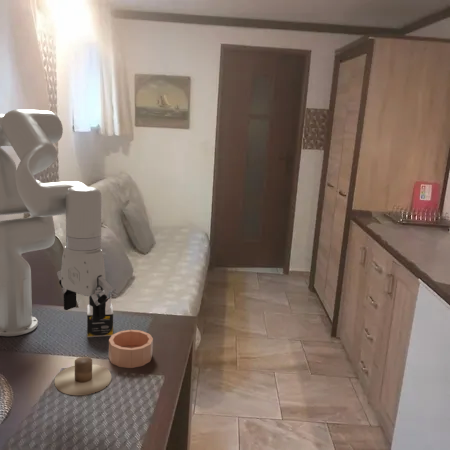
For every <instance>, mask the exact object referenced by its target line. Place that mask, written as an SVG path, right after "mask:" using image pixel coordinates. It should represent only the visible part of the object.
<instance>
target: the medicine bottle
mask: <svg viewBox="0 0 450 450" xmlns="http://www.w3.org/2000/svg"><path fill="white" fill-rule="evenodd" d="M96 295H97V297H98V299H99V298H100V295H99V293H98V294H96ZM88 300H89V301H88V303H89V304H87V308H86V309H87V310H86V311H87V312H86V313H87V314H86V336H87V338H94V337H95V338H96V337H111V336H112V335H113V334H114V308H113V304H112V296H111V297H110V299H108V301H107V302H106V303H105V318H103V319H101V320H99V321H96V322H95V321H93V305H94V304H95V303H94V301H93V299H92V297H91V296H88Z"/></svg>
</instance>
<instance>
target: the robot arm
mask: <svg viewBox="0 0 450 450" xmlns="http://www.w3.org/2000/svg"><path fill="white" fill-rule="evenodd" d="M63 131H64V130H63V124H62V121H61V120H60V117H59V116H58V115H57V114H56V113H54V111H53V112H52V111H50V110H42V109H41V110H39V109H25V108H24V109H23V108H22V109H21V108H18V109H13V110H10V111H8V112H6V113H0V216H9V215H10V216H11V215H21V214H22V215H23V214H29V215H30V217H24V218H15V219H14V218H13V219H5V220H2V221H1V220H0V336H1V337H16V336H22V335H26V334H28V333H31V332H33V331H34V330H35V329H36V328H37V327H38V326H39V325H38V324H39V323H38V322H39V320H38V319H37V317H35V316H33V308H32V305H33V304H32V303H33V302H32V299H33V298H32V271H31V270H32V269H31V266H30V264H29V262H28V261H27V260H26V259H25V258H24V257H23V256H22V254H25V253H28V252H35V251H39V250H45V249H49V248H51V247H52V246H53V245H54V243H55V239H56V229H55V223H54V216H55V217H56V216H63V215H65V244H66V245H65V246H64V248H63V251H62V252H63V253H62V257H61V269H60V270H58V271H57V272H56V274H57V278H58V280H59V281H58V284H59V285H60V287H61V292H62V294H63V309H64V311H68V310H71V309H73V308H77V294H78V295H81V296H83V297H89V296H91V297H92V299H93V301H94V303H95V304H94V305H93V321H95V322H96V321H99V320H101V319H103V318H105V303H106V302H107V301H108V299H110V297H111V298H112V294H113V291H114V287H113V286H112V285H111V284H110V283H109V282H108V281H107V280H106V268H105V259H104V252H103V249H102V193H101V190H100V189H99V188H97V187H94V186H88V185H87V184H86V183H84V182H82V181H79V180H72V181H50V182H42V181H41V180H38V179H36V178H35V176H36V175H37V174H39V173H41V172H43V171H45V170H46V169H48V168H49V167H50V166H52V164H53V163H55V161H56V158H57V153H58V152H57V149H56V147H55V144H56V143H58V142H60V140H61V139H62V137H63V133H64V132H63ZM2 147H12V149H13V150H14V151H15V154H16V155H17V156H18V158H19V161H20V162H19V164H18V165H17V164H16V162H15V160H14V158H12V157H11V155H10V154H9V153H7V151H6V150H4V149H3V148H2ZM98 293H99V295H100V298H99V299H98V297H97V295H96V294H98Z"/></svg>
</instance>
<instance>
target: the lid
mask: <svg viewBox="0 0 450 450" xmlns="http://www.w3.org/2000/svg"><path fill="white" fill-rule="evenodd" d="M111 381H112V374H111V372H110V370H109V369H108V368H107V367H105V366H102V365H99V364H95V363H93V359H92V358H91V357H89V356H80V357H78V358H76V359H75V360H74V365H71V366H69V367H65V368H64V369H62V370H61V371H59V372H58V373H57V375H56V376H55V378H54V387H55V388H56V389H57V390H58V391H60V392H61V393H63V394H65V395H70V396H89V395H91V393H93V394H96V393H99V392H100V391H102V390H104V389H105V388H107V387H108V386H109V385H110V384H111ZM106 386H107V387H106ZM95 392H96V393H95Z"/></svg>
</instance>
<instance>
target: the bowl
mask: <svg viewBox="0 0 450 450" xmlns="http://www.w3.org/2000/svg"><path fill="white" fill-rule="evenodd" d="M153 349H154V338H153V337H152V335H151V334H150V333H148V332H146V331H143V330H139V329H128V330H127V329H126V330H120V331H118V332H115V333H113V335H112V336H109V339H108V360H109V361H110V363H111V364H112V365H114V366H117V367H119V368H127V369H133V368H139V367H144V366H145V365H147V364H148V363H150V362H151V360H152V359H153V351H154V350H153Z"/></svg>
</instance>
